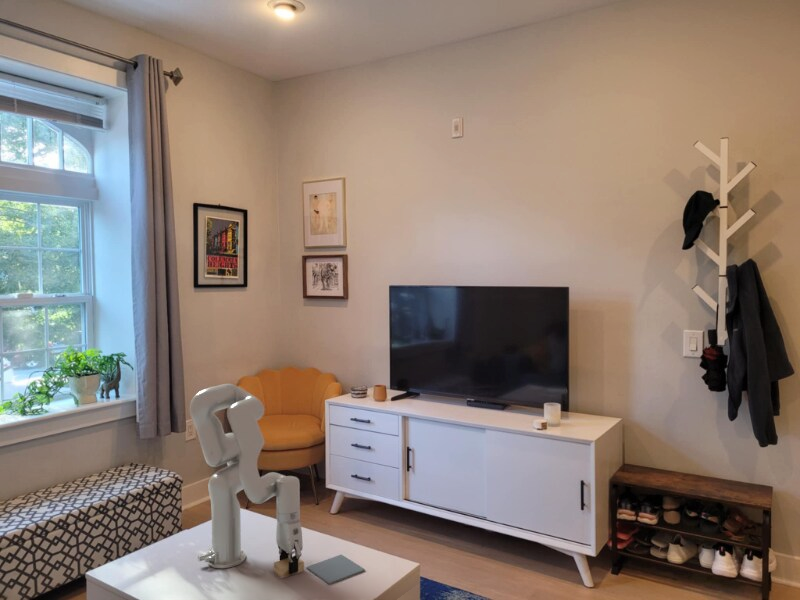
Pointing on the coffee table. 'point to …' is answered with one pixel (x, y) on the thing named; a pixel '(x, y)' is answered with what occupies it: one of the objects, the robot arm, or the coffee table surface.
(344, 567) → the mat
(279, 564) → the light brown rectangular block
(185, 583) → the coffee table surface
